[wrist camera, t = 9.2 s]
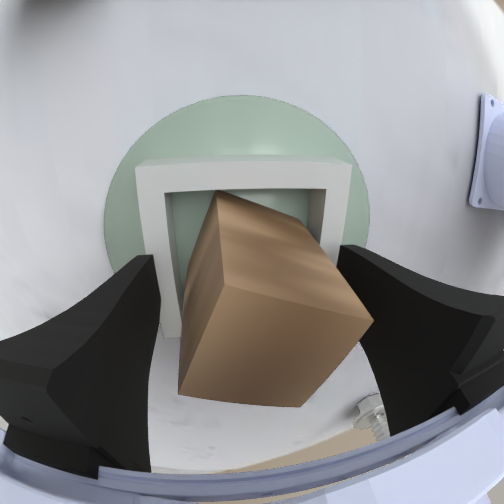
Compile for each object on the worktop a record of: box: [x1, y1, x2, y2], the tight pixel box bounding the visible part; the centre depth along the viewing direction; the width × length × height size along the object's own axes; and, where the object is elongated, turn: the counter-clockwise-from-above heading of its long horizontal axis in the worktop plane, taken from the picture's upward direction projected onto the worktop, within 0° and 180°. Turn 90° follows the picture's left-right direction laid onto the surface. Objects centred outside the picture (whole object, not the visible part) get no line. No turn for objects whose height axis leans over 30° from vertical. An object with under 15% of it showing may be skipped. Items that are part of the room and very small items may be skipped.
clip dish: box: [104, 95, 370, 338], centre depth 12 cm, size 13×13×2 cm
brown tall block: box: [178, 190, 374, 407], centre depth 10 cm, size 4×4×7 cm
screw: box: [353, 394, 404, 465], centre depth 18 cm, size 13×5×5 cm
